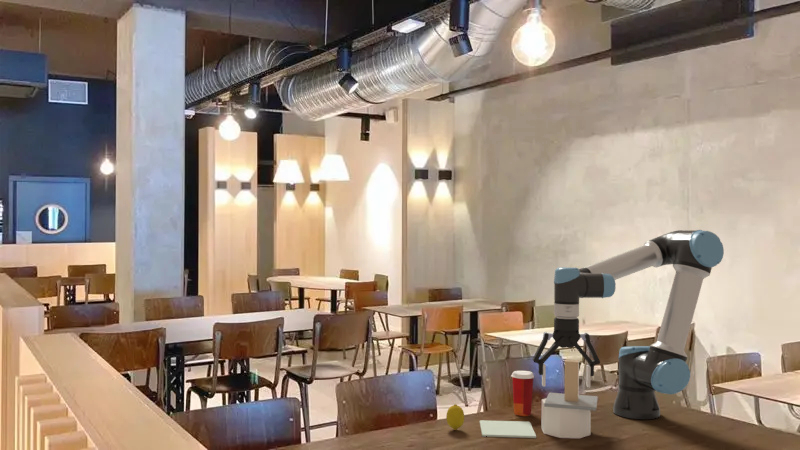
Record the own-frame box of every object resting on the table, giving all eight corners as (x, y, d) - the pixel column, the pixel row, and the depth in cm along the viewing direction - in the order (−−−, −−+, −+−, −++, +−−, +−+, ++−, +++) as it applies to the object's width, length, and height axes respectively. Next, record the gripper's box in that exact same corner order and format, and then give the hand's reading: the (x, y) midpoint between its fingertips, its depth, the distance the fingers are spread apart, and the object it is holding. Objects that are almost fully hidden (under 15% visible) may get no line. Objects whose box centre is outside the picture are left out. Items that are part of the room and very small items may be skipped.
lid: (597, 399, 219) (597, 358, 219) (596, 410, 205) (596, 366, 205) (549, 395, 224) (549, 355, 224) (544, 406, 209) (544, 363, 210)
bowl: (584, 425, 221) (584, 397, 222) (593, 438, 207) (593, 408, 208) (539, 424, 222) (539, 396, 222) (545, 437, 208) (546, 407, 208)
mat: (529, 423, 224) (529, 421, 224) (536, 438, 208) (536, 436, 208) (479, 422, 225) (479, 420, 225) (482, 436, 209) (482, 434, 209)
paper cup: (533, 411, 239) (533, 370, 239) (535, 417, 231) (535, 375, 232) (509, 410, 240) (510, 369, 240) (511, 416, 232) (511, 374, 232)
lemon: (452, 433, 211) (452, 407, 211) (442, 429, 216) (443, 403, 216) (467, 431, 214) (467, 405, 214) (458, 426, 219) (458, 401, 219)
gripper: (527, 318, 212) (526, 387, 212) (610, 319, 211) (609, 389, 211) (524, 315, 220) (523, 382, 220) (604, 316, 218) (604, 384, 218)
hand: (565, 386), depth 215 cm, fingers open, 13 cm apart
